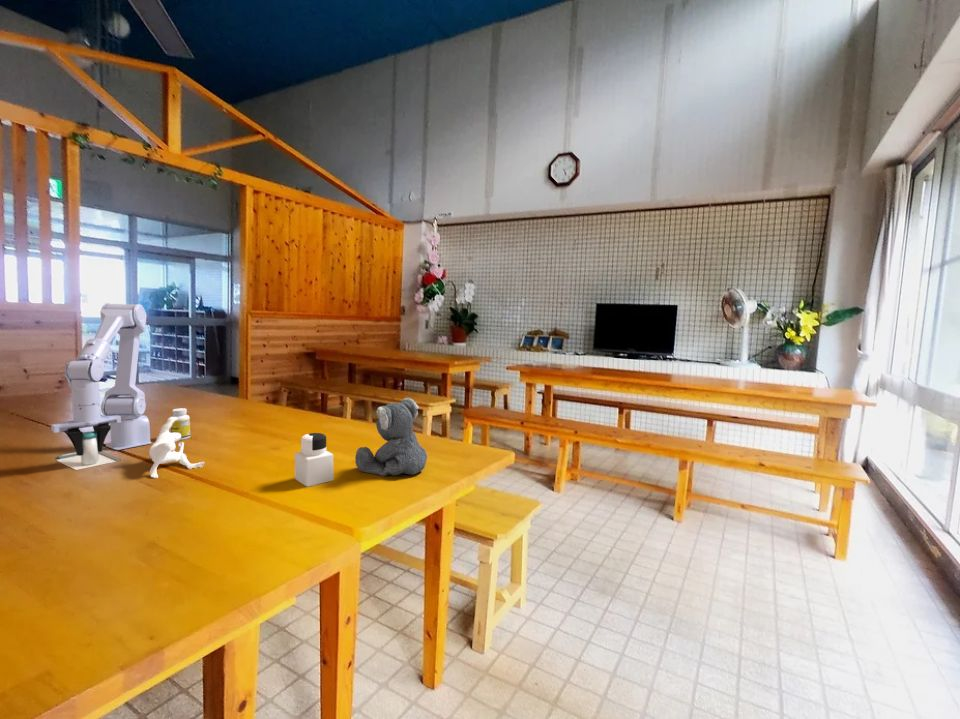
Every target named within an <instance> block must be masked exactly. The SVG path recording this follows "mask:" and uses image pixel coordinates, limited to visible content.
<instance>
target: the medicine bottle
mask: <svg viewBox="0 0 960 719" xmlns="http://www.w3.org/2000/svg"><path fill="white" fill-rule="evenodd" d="M300 442H301V443H300V444H301V445H300V447H301V448H300V449H301V450H300V451H298V452H295V454H294V476H295V477H294V479H295V481H298V482H299V483H301V484H302V485H304V486H305V487H307V488H309V487H312V486H317V485H321V484H324V483H328V482H329V483H330V482H333V480H334V454H333V453H331V452H330V451H328V450H327V435H325V434H324V433H321V432H310V433H306V434H304V435H303V436H301V437H300Z"/></svg>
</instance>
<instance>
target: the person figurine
mask: <svg viewBox="0 0 960 719" xmlns="http://www.w3.org/2000/svg"><path fill="white" fill-rule="evenodd" d="M166 419H167V420H166V422H165V423H164V424H163V425H162V426H161V429H160V431H159V434H158V436H157V438H156V440H155V442H153V444H152V445H151V446H150V447H149V452H148V454H149V457H150V459H151V460H152V463H153V464H152V466H151V467H150V470H149V475H150V477H151V478H153V479H158V478H159V475H158V473H157V471H158V470H157V468H158V466H159V465H160V464H161V465H162V464H167V463H174V462H178V461H179V462H178V463H179V464H181V465H183V466H185V467H187V469H188V470H193V469H192V468H195V469H198V468H197V467H200V468H203V467H204V465H205V461H200V462H196V463H191V462H190V461H189V460H188V458H187V455H186V454H185V453H184V447H185V446H184V445H185V442H184V441H182V442H181V440H180V439H181V434H180V433H175V432H174V433H171V431H170V430H171V426H172V424H173V422H174V421H177V420H178V418H177V417H172V416H170V417H168V418H166ZM177 441H180V442H178V444H177V445H178V448H179V450H178V451H175V450H176V443H175V442H177Z"/></svg>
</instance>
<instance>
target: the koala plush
mask: <svg viewBox="0 0 960 719" xmlns="http://www.w3.org/2000/svg"><path fill="white" fill-rule="evenodd" d="M419 408H420V406H418V404H417V402H416V401H415V400H414V399H412V398H411V397H408V396H407V397H405V398H403V399H401V401H400V402H394V401H393V402H390V403H387V404H386V405H382V406H379V407H377V410H376V411H375V413H376V415H377V417H378V418H377V420H376V421H375V422H376V424H375V426H376V429H377V433H378V434H379V435H380V437H381V438H382V439H383V440H384V441H386V442H385V443H383V445H382V446H380V447H379V448H378V449H377V450H376V452H375V453H373V452H372V450H371V449H370V448H369V447H368V446H367V447H366V446H361V447H358V448H357V450H356V451H355V466H356V468H357V469H358V470H359V471H361V472H363V473H367V474H373V475H378V476H381V477H385V476H388V475H392V476H393V477H395V476H399V475H402V474H404V475H409V476H411V475H412V476H413V475H416V474H418V473H421V472H422V471H423V470H424V469H425V467H426V463H427V460H428V453H427V450H426V449H425V448H424V447H423V446H422V445H420V444H419V441H418V438H417V436H416V432H415V431H413V428H414V424H413V423H414V422H413V421H414V420H416V418H417V416H419V412H418V409H419Z"/></svg>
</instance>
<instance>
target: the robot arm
mask: <svg viewBox="0 0 960 719" xmlns="http://www.w3.org/2000/svg"><path fill="white" fill-rule="evenodd" d="M100 319H101V324H100V325H99V327H98V329H97V331H96V334H95V336H94V338H90V339H87V341H86V342H85V344H84V345H83V347H82V349H81V350H80V352H79V354H78V356H77V357H76V358H75V359H74V360H71V361H69V362H67V364H66V365H65V369H64V372H63V374H64V378H65V379H66V381H67V383H68V384H67V385H68V387H69V389H71V402H72V420H68V421H64V422H58V423H54V424H53V423H52V424H51V425H50V426H51V433H54V434H56V433H61V432H64V434H66V436H67V437H68V439H69V440H70V441H71V443H72V445H73V447H74V449H75V450H74V451H75V452H76V454H77V455H79V456H81V455H83V448H82V436H83V431H81V429H85V428H91V427H92V429H93V431H96V432H97V434H98V437H97V442H98V452H103V447H104V443H105V440H106V437H107V436H108V434H109V432H110V443H107V444H105V447H107V448H108V449H109V448H110V449H112V450H114V451H120V450H125V449H129V448H135V447H140V446H145V445H146V446H147V445H150V444H152V441H151V429H150V428H151V426H150V420H149V418H148V417H147V415H145V412H146V411H145V410H146V408H147V407H146V406H147V403H146V397H145V396H146V395H145V392H144V391H143V390H141V389H140V388H138V387H137V386H136V382H137V380H136V379H137V372H138V361H139V351H140V341H141V334H142V333H145V332H146V326H147V312H146V310H145V308H144V306H143V305H142V304H140V303H137V304H130V303H129V304H124V303H121V304H120V303H110V302H109V303H105V304H103V305H102V307H101V310H100ZM117 334H118V335H119V344H118V352H117V353H118V354H117V360H116V361H117V364H116V370H115V371H116V372H115V379H114V380H115V381H114V386H112V387H111V388H109V389H108V390H106V391H105V393H104V398H103V400H102V401H101V398H100V395H101V393H100V382H99V381H100V380H101V379H102V378H103V377H104V373H105V372H104V370H105V366H106V365H105V362H106V360H107V358H108V356H109V355H110V352H111V351H112V346H111V344H110V343H111V342H112V341H113V339H114V338H115V336H116V335H117ZM102 415H103V416H102Z"/></svg>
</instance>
